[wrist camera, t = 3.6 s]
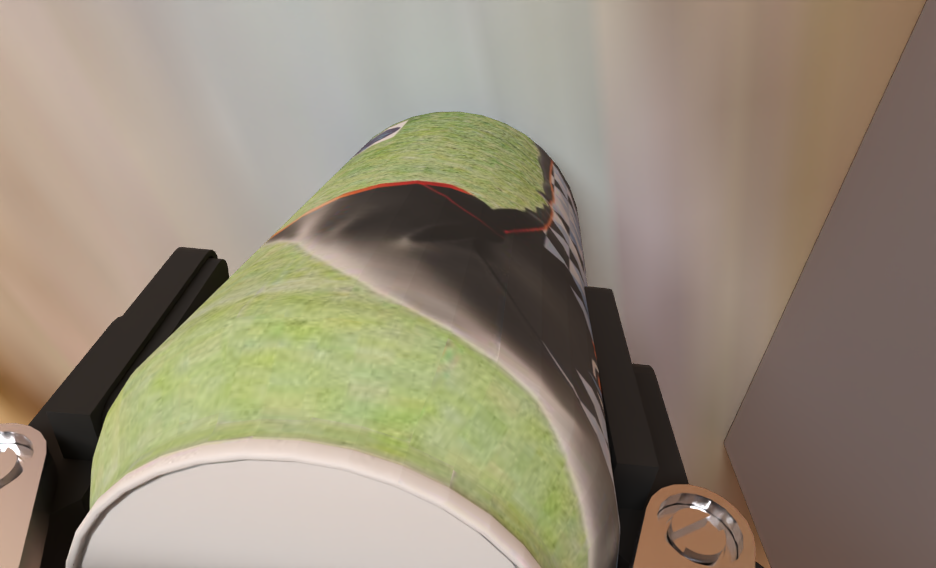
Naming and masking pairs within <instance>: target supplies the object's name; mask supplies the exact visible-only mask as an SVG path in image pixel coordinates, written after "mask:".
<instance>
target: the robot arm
mask: <svg viewBox="0 0 936 568" xmlns="http://www.w3.org/2000/svg"><path fill="white" fill-rule="evenodd" d="M228 279H229V273H228V266H227V263H226V261H225V260H224V259H218V258H217V255H216V253H215V252H214V251H213V250H207V249H196V248H186V247H179V248H178V249H176V250H175V251H174V253H173V254H172V255H171V256H170V258H169V259H168V260H167V261H166V263H165V264H164V265H163V266H162V268H161V269H160V270H159V271H158V273H157V274H156V275H155V276H154V278H153V279H152V280H151V281H150V282H149V284H148V285H147V286H146V287H145V289H144V290H143V291H142V292H141V294H140V295H139V296H138V297H137V299H136V300H135V301H134V302H133V304H132V305H131V306H130V307H129V308H128V310H127V311H126V312H125V313H124V315H123V316H121V317H118V318H117V319H116V320H115V321H113V322H112V323H111V325H110V326H109V327H108V328H107V329H106V331H105V332H104V333H103V334H102V336H101V337H100V338H99V339H98V340H97V342H96V343H95V344H94V345H93V347H92V348H91V349H90V350H89V351H88V353H87V354H86V355H85V356H84V358H83V359H82V360H81V361H80V362H79V364H78V365H77V366H76V367H75V369H74V370H73V371H72V372H71V373H70V375H69V376H68V377H67V378H66V380H65V381H64V382H63V383H62V384H61V386H60V387H59V388H58V389H57V391H56V392H55V393H54V394H53V395H52V397H51V398H50V399H49V400H48V402H47V403H46V404H45V405H44V406H43V408H42V409H41V410H40V411H39V413H38V414H37V415H36V416H35V417H34V419H33V420H32V421H31V422H30V424H29V425H22V424H17V423H7V424H0V568H66V560H67V557H68V554H69V550H70V547H71V544H72V541H73V538H74V535H75V532H76V530H77V529H78V527H79V526H80V524H81V523H82V521H83V520H84V518H85V517H86V515H87V514H88V512H89V511H90V487H91V469H92V462H93V457H94V453H95V450H96V446H97V443H98V440H99V437H100V434H101V431H102V427H103V424H104V421H105V418H106V416H107V413H108V411H109V409H110V408H111V406H112V404H113V403H114V401H115V400H116V398H117V397H118V395H119V393H120V392H121V390H122V389H123V387H124V385H125V384H126V382H127V381H128V379H129V378H130V376H131V375H132V373H133V372H134V371H135V370H136V369H137V368H138V367H139V366H140V365H141V364H142V363H143V362H144V361H145V360H146V359H147V358H148V357H149V356H150V355H151V354H152V353H153V352H154V351H155V350H156V349H157V348H158V347H159V346H160V345H161V344H162V343H163V342H165V341H166V340H167V339H168V338H169V337H170V336H171V335H172V334H173V333H174V332H175V331H176V330H177V329H178V328H179V327H180V326H181V325H182V324H183V323H184V322H185V321H186V320H187V319H188V318H189V317H190V316H191V315H192V314H193V313H194V312H195V311H196V310H197V309H198V308H199V307H200V306H201V305H202V304H203V303H204V302H205V301H206V300H207V299H208V298H209V297H210V296H212V295H213V294H214V293H215V292H216V291H217V290H218V289H219V288H220V287H221V286H222V285H223V284H224V283H225V282H226V281H227V280H228ZM584 290H585V296H586V301H587V307H588V313H589V318H590V324H591V330H592V335H593V341H594V347H595V352H596V358H597V364H598V371H599V379H600V386H601V393H602V400H603V407H604V414H605V421H606V429H607V436H608V443H609V450H610V457H611V464H612V471H613V478H614V485H615V493H616V500H617V508H618V515H619V522H620V541H619V552H618V564H617V568H764V567H762V566H761V565H760V564H758V563H757V562H756V561H755V557H756V547H755V540H754V535H753V533H752V531H751V529H750V526H749V524H748V522H747V520H746V519H745V518H744V517H743V516H742V515H741V513H740V512H739V511H738V510H737V509H736V507H734V506H733V505H732V504H730V503H729V502H728V501H727V500H725V499H724V498H723V497H721V496H719V495H717V494H715V493H713V492H711V491H709V490H707V489H705V488H701V487H697V486H693V485H689V483H688V480H687V476H686V473H685V470H684V467H683V463H682V460H681V457H680V453H679V450H678V447H677V444H676V440H675V437H674V434H673V431H672V427H671V424H670V421H669V418H668V414H667V411H666V408H665V404H664V401H663V398H662V395H661V391H660V388H659V385H658V382H657V378H656V375H655V373H654V370H653V368H652V367H650V366H649V365H640V364H632V363H631V359H630V355H629V351H628V348H627V344H626V340H625V336H624V333H623V329H622V325H621V321H620V318H619V314H618V310H617V306H616V302H615V299H614V295H613V292H612V290H611V289H607V288H597V287H586V286H585V287H584Z"/></svg>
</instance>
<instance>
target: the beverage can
mask: <svg viewBox="0 0 936 568" xmlns="http://www.w3.org/2000/svg"><path fill="white" fill-rule="evenodd" d="M585 286H586V287H588V286H587V278H586V271H585V264H584V256H583V249H582V241H581V234H580V227H579V220H578V214H577V207H576V204H575V201H574V198H573V196H572V193H571V190H570V187H569V185H568V183H567V182H566V180H565V178H564V176H563V175H562V173H561V171H560V170H559V168H558V166H557V165H556V164H555V163H554V162H553V161H552V159H551V158H550V157H549V156H548V155H547V153H546V152H545V151H544V150H543V149H542V148H541V147H539V146H538V145H537V144H536V143H535V142H533V141H532V140H531V139H530V138H528V137H527V136H526V135H525V134H523V133H521V132H519V131H518V130H516V129H514V128H512V127H510V126H509V125H507V124H505V123H502V122H500V121H497V120H494V119H491V118H488V117H485V116H482V115H476V114H470V113H463V112H434V113H429V114H424V115H420V116H415V117H411V118H409V119H406V120H404V121H401V122H399V123H396V124H394V125H392V126H390V127H389V128H387V129H385V130H384V131H382V132H381V133H379V134H378V135H376V136H375V137H373V138H372V139H371V140H370V141H369V142H368V143H367V144H366V145H365V146H364V147H363V148H362V149H361V150H360V151H359V152H358V153H357V154H356V155H355V156H353V157H352V158H351V159H350V160H349V161H348V162H347V163H346V164H345V165H344V166H343V167H342V168H341V169H340V170H339V171H338V172H337V173H336V174H335V175H334V176H333V177H332V178H331V179H330V180H329V181H328V182H327V183H326V184H325V185H324V186H323V187H322V188H321V189H320V190H319V191H318V192H317V193H316V194H315V195H314V196H313V197H312V198H311V199H310V200H309V201H308V202H307V203H305V204H304V205H303V206H302V207H301V208H300V209H299V210H298V211H297V212H296V213H295V214H294V215H293V216H292V217H291V218H290V219H289V220H288V221H287V222H286V223H285V224H284V225H283V226H282V227H281V228H280V229H279V230H278V231H277V232H276V233H275V234H274V235H273V236H272V237H271V238H270V239H269V240H268V241H267V242H266V243H265V244H264V245H263V246H262V247H261V248H260V249H258V250H257V251H256V252H255V253H254V254H253V255H252V256H251V257H250V258H249V259H248V260H247V261H246V262H245V263H244V264H243V265H242V266H241V267H240V268H239V269H238V270H237V271H236V272H235V273H234V274H233V275H232V276H231V277H230V278H229V279H228V280H227V281H226V282H225V283H224V284H223V285H222V286H221V287H220V288H219V289H218V290H217V291H216V292H215V293H214V294H213V295H212V296H210V297H209V298H208V299H207V300H206V301H205V302H204V303H203V304H202V305H201V306H200V307H199V308H198V309H197V310H196V311H195V312H194V313H193V314H192V315H191V316H190V317H189V318H188V319H187V320H186V321H185V322H184V323H183V324H182V325H181V326H180V327H179V328H178V329H177V330H176V331H175V332H174V333H173V334H172V335H171V336H170V337H169V338H168V339H167V340H166V341H165V342H163V343H162V344H161V345H160V346H159V347H158V348H157V349H156V350H155V351H154V352H153V353H152V354H151V355H150V356H149V357H148V358H147V359H146V360H145V361H144V362H143V363H142V364H141V365H140V366H139V367H138V368H137V369H136V370H135V371H134V372H133V373H132V375H131V376H130V378H129V379H128V381H127V382H126V384H125V385H124V387H123V389H122V390H121V392H120V393H119V395H118V397H117V398H116V400H115V401H114V403H113V404H112V406H111V408H110V409H109V411H108V413H107V416H106V418H105V421H104V424H103V427H102V431H101V434H100V437H99V440H98V443H97V446H96V450H95V453H94V457H93V462H92V469H91V487H90V511H89V512H88V514H87V515H86V517H85V518H84V520H83V521H82V523H81V524H80V526H79V527H78V529H77V530H76V532H75V535H74V538H73V541H72V544H71V547H70V550H69V554H68V557H67V560H66V568H617V564H618V552H619V541H620V522H619V515H618V508H617V500H616V493H615V485H614V478H613V471H612V464H611V457H610V450H609V443H608V436H607V429H606V421H605V414H604V407H603V400H602V393H601V386H600V379H599V371H598V364H597V358H596V352H595V347H594V341H593V335H592V330H591V324H590V318H589V313H588V307H587V301H586V296H585V290H584V287H585Z"/></svg>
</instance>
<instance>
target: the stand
mask: <svg viewBox="0 0 936 568" xmlns="http://www.w3.org/2000/svg"><path fill="white" fill-rule="evenodd" d="M724 445H725V448H726V451H727V453H728V456H729V459H730V461H731V464H732V467H733V469H734V472H735V474H736V477H737V480H738V482H739V485H740V488H741V490H742V493H743V495H744V498H745V501H746V503H747V506H748V509H749V511H750V514H751V516H752V519H753V522H754V524H755V527H756V530H757V532H758V535H759V537H760V540H761V543H762V545H763V548H764V551H765V553H766V556H767V559H768V561H769V564H770V566H771V568H936V0H927V1H926V4H925V6H924V8H923V10H922V12H921V14H920V17H919V19H918V21H917V23H916V25H915V28H914V30H913V32H912V34H911V36H910V38H909V41H908V43H907V45H906V47H905V49H904V51H903V54H902V56H901V58H900V60H899V62H898V65H897V67H896V69H895V71H894V73H893V75H892V78H891V80H890V82H889V84H888V86H887V89H886V91H885V93H884V95H883V97H882V99H881V102H880V104H879V106H878V108H877V110H876V112H875V115H874V117H873V119H872V121H871V123H870V126H869V128H868V130H867V132H866V134H865V136H864V139H863V141H862V143H861V145H860V147H859V149H858V152H857V154H856V156H855V158H854V160H853V163H852V165H851V167H850V169H849V171H848V173H847V176H846V178H845V180H844V182H843V184H842V186H841V189H840V191H839V193H838V195H837V197H836V200H835V202H834V204H833V206H832V208H831V210H830V213H829V215H828V217H827V219H826V221H825V223H824V226H823V228H822V230H821V232H820V234H819V237H818V239H817V241H816V243H815V245H814V247H813V250H812V252H811V254H810V256H809V258H808V261H807V263H806V265H805V267H804V269H803V271H802V274H801V276H800V278H799V280H798V282H797V284H796V287H795V289H794V291H793V293H792V295H791V298H790V300H789V302H788V304H787V306H786V308H785V311H784V313H783V315H782V317H781V319H780V321H779V324H778V326H777V328H776V330H775V332H774V335H773V337H772V339H771V341H770V343H769V345H768V348H767V350H766V352H765V354H764V356H763V358H762V361H761V363H760V365H759V367H758V369H757V372H756V374H755V376H754V378H753V380H752V382H751V385H750V387H749V389H748V391H747V393H746V396H745V398H744V400H743V402H742V404H741V406H740V409H739V411H738V413H737V415H736V417H735V419H734V422H733V424H732V426H731V428H730V430H729V433H728V435H727V437H726V439H725V441H724Z"/></svg>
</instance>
